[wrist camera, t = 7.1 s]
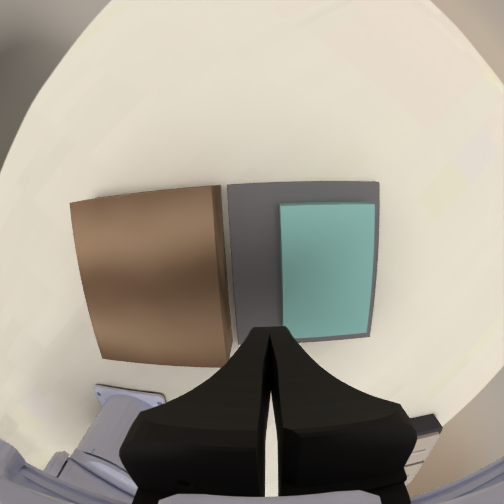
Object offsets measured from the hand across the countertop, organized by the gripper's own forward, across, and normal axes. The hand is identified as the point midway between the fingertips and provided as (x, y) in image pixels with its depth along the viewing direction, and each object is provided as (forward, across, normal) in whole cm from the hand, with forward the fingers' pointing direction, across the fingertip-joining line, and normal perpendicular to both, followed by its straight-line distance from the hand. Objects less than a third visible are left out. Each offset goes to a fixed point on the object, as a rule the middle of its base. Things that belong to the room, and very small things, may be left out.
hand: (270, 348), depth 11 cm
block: (+9, -4, 0) cm, 10 cm away
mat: (+10, -3, 0) cm, 11 cm away
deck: (+10, +8, 0) cm, 13 cm away
